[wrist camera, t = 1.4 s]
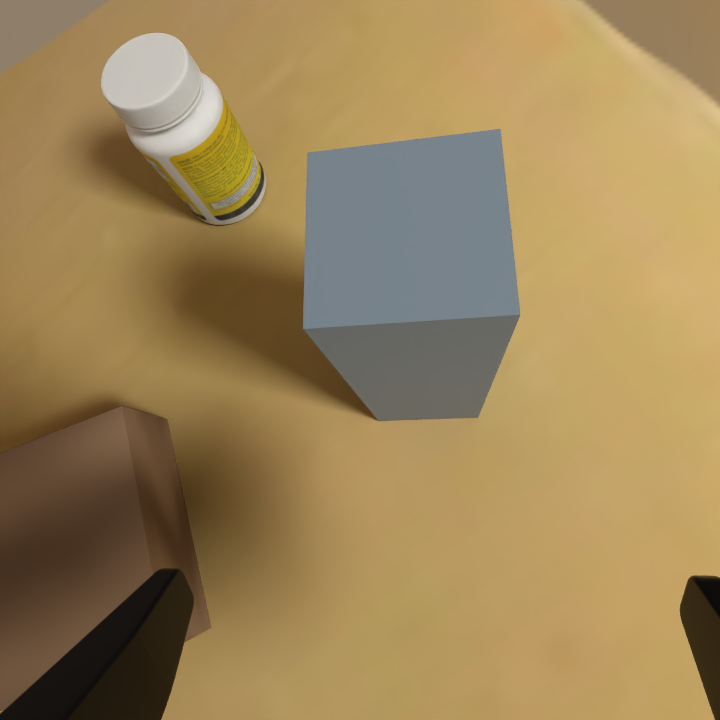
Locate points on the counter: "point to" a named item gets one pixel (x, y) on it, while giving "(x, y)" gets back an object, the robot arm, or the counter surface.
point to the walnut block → (85, 536)
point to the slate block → (412, 271)
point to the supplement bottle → (184, 128)
